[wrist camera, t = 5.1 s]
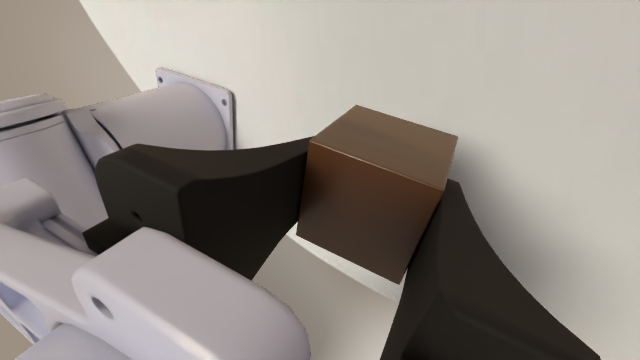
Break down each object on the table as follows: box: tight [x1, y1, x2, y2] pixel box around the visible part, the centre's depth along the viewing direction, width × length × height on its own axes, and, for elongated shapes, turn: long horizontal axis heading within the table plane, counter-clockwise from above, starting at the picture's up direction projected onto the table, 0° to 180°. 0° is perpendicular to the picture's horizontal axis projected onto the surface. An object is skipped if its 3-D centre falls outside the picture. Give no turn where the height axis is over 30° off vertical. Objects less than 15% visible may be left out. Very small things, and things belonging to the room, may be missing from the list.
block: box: [296, 105, 458, 284], centre depth 11 cm, size 4×4×4 cm
